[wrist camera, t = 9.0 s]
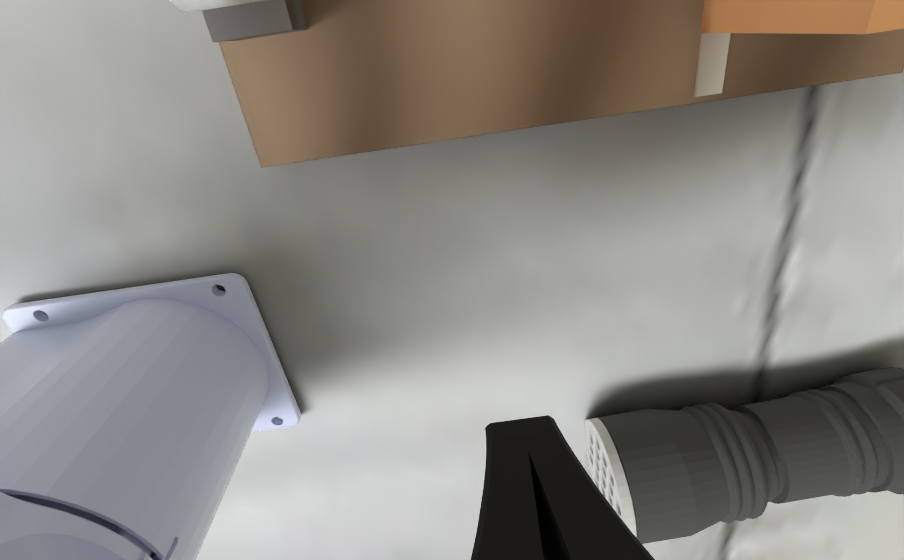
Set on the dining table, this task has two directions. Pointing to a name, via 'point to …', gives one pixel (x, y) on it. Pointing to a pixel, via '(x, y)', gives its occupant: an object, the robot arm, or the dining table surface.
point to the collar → (802, 16)
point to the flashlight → (748, 454)
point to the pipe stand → (495, 66)
